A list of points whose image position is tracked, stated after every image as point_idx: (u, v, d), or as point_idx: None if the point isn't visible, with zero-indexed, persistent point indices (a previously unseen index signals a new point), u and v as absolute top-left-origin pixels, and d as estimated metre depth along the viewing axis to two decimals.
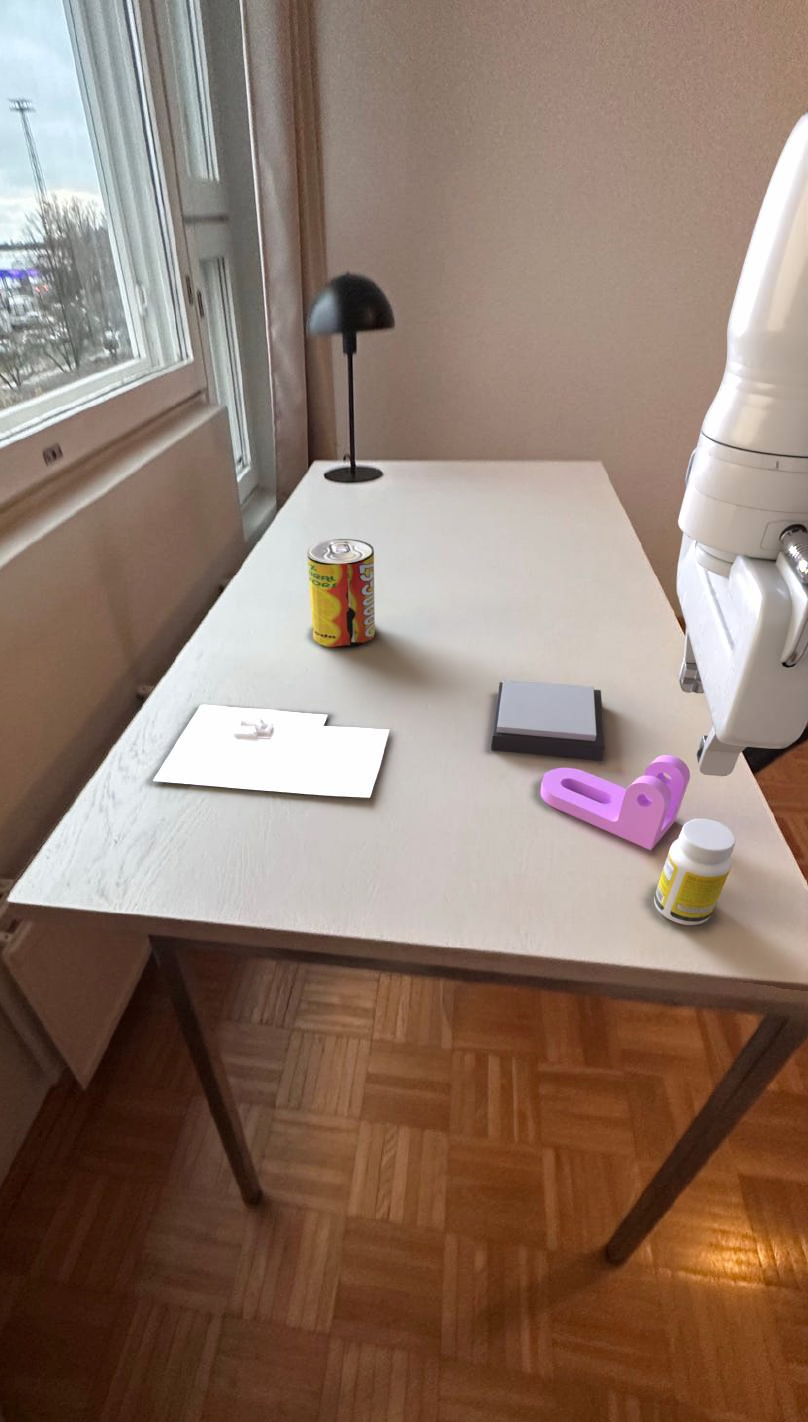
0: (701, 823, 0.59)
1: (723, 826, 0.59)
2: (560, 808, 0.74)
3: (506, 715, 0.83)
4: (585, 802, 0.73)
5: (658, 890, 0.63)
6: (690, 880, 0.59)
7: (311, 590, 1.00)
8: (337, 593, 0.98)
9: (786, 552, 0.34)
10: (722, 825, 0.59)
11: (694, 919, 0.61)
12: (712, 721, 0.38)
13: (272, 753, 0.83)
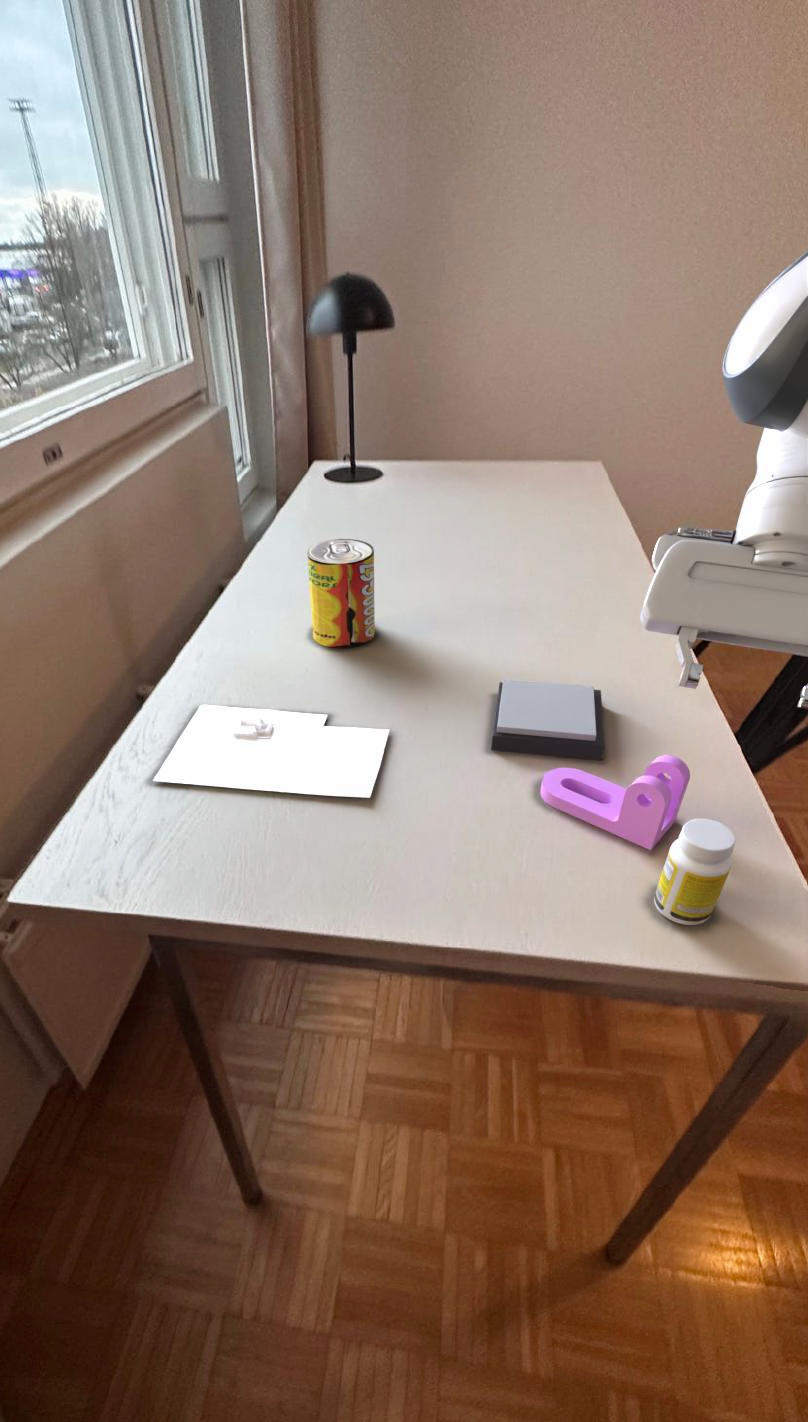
0: (701, 822, 0.59)
1: (723, 826, 0.59)
2: (560, 808, 0.74)
3: (506, 715, 0.83)
4: (585, 802, 0.73)
5: (658, 890, 0.63)
6: (690, 880, 0.59)
7: (311, 590, 1.00)
8: (337, 593, 0.98)
9: None
10: (722, 825, 0.59)
11: (694, 919, 0.61)
12: None
13: (272, 753, 0.83)
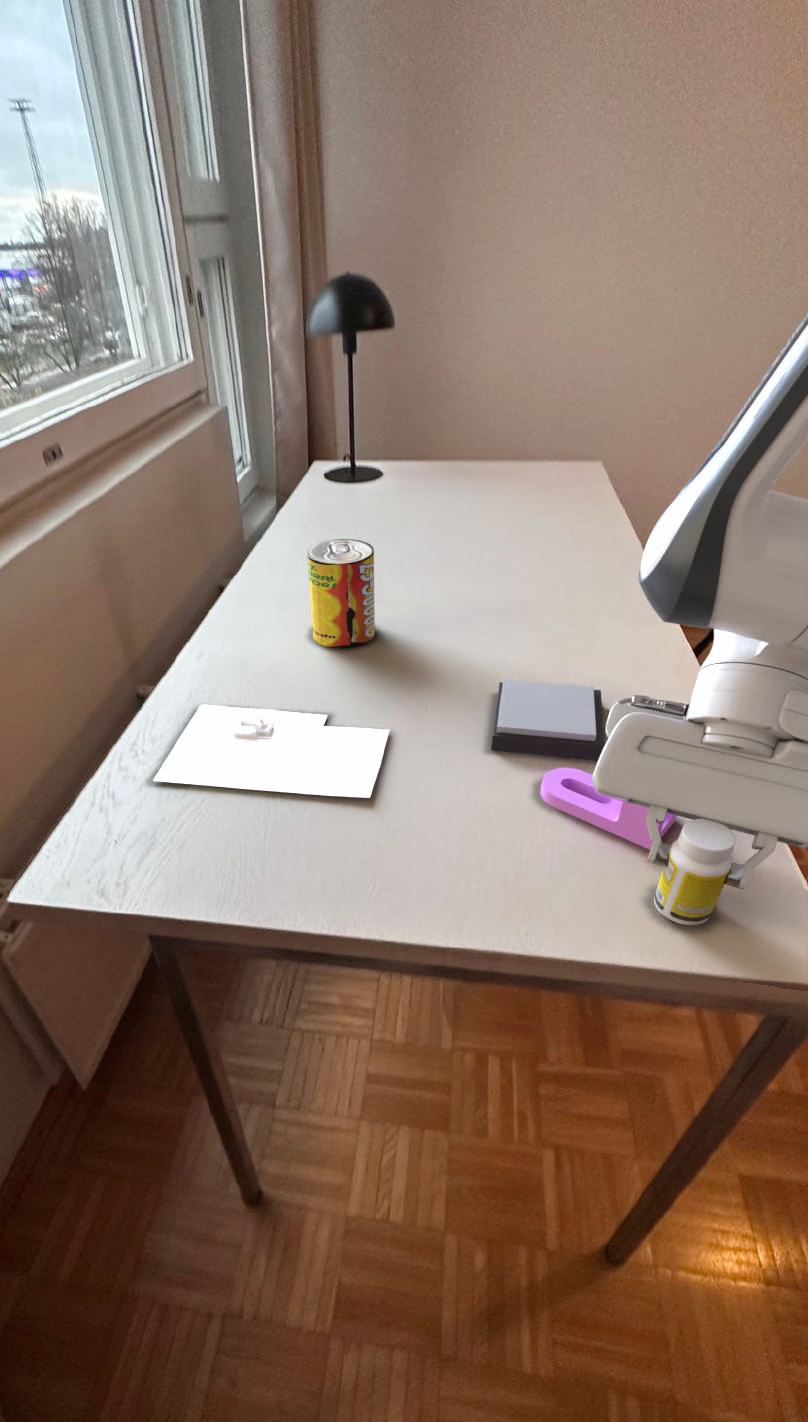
0: (701, 823, 0.59)
1: (723, 826, 0.59)
2: (560, 808, 0.74)
3: (506, 715, 0.83)
4: (585, 802, 0.73)
5: (658, 890, 0.63)
6: (690, 880, 0.59)
7: (311, 590, 1.00)
8: (337, 593, 0.98)
9: None
10: (722, 825, 0.59)
11: (694, 919, 0.61)
12: None
13: (272, 753, 0.83)
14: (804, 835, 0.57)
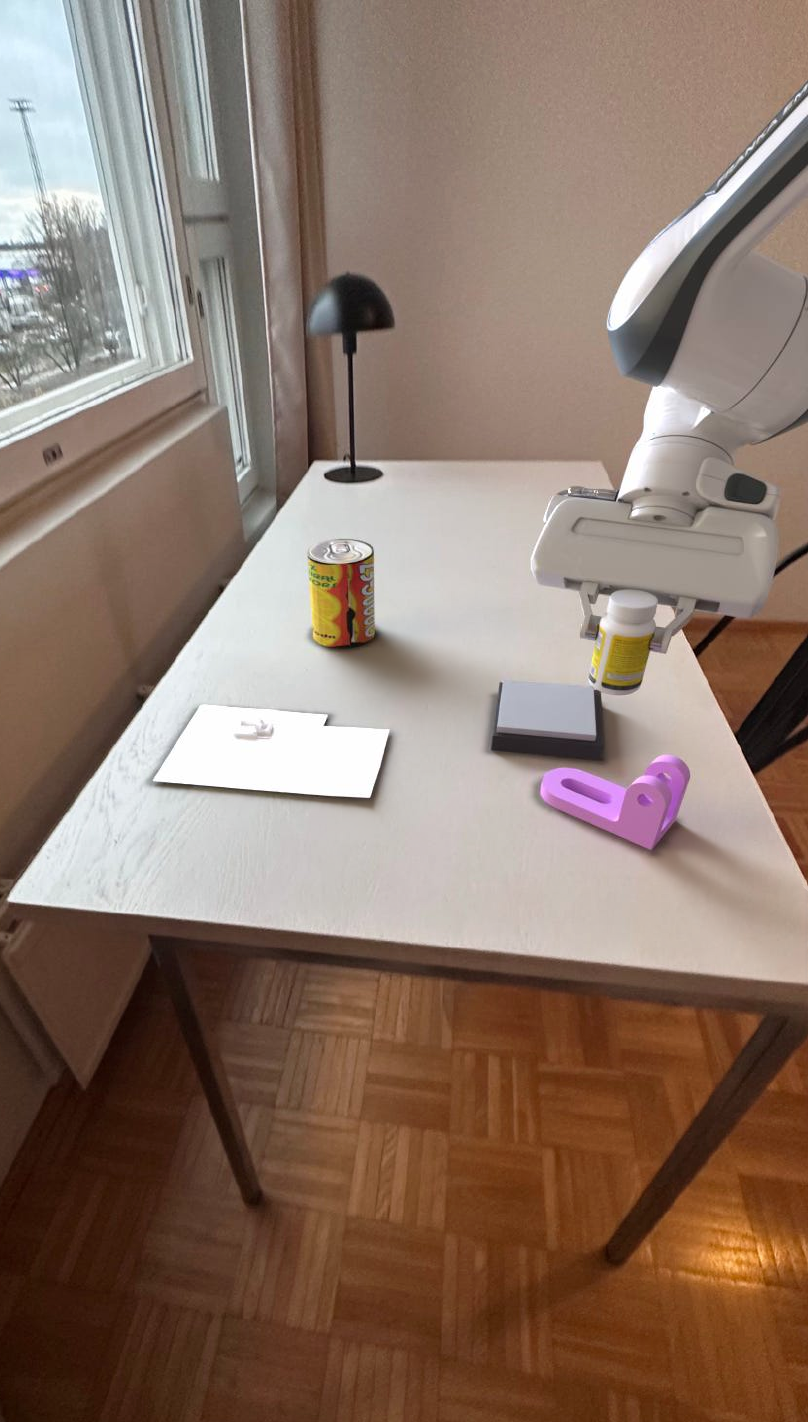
0: (627, 591, 0.64)
1: (647, 593, 0.64)
2: (560, 808, 0.74)
3: (506, 715, 0.83)
4: (586, 802, 0.73)
5: (591, 666, 0.68)
6: (616, 643, 0.64)
7: (311, 590, 1.00)
8: (337, 593, 0.98)
9: None
10: (647, 592, 0.64)
11: (623, 687, 0.66)
12: None
13: (272, 753, 0.83)
14: (719, 592, 0.62)
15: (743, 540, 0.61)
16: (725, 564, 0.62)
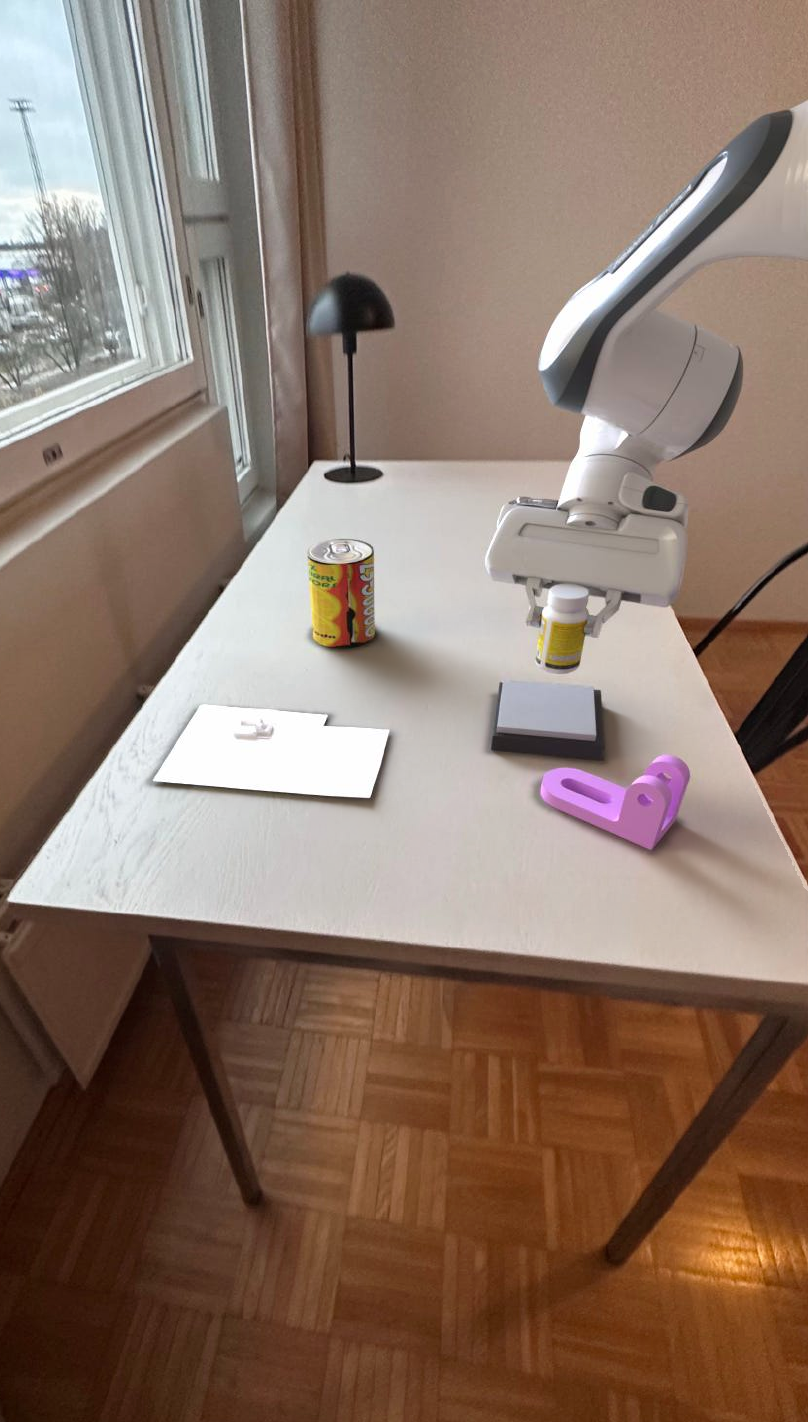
0: (564, 585, 0.76)
1: (581, 586, 0.76)
2: (560, 808, 0.74)
3: (506, 715, 0.83)
4: (586, 802, 0.73)
5: (537, 649, 0.80)
6: (555, 629, 0.76)
7: (311, 590, 1.00)
8: (337, 593, 0.98)
9: None
10: (580, 586, 0.76)
11: (563, 667, 0.78)
12: None
13: (272, 753, 0.83)
14: (639, 585, 0.73)
15: (659, 541, 0.73)
16: (644, 561, 0.73)
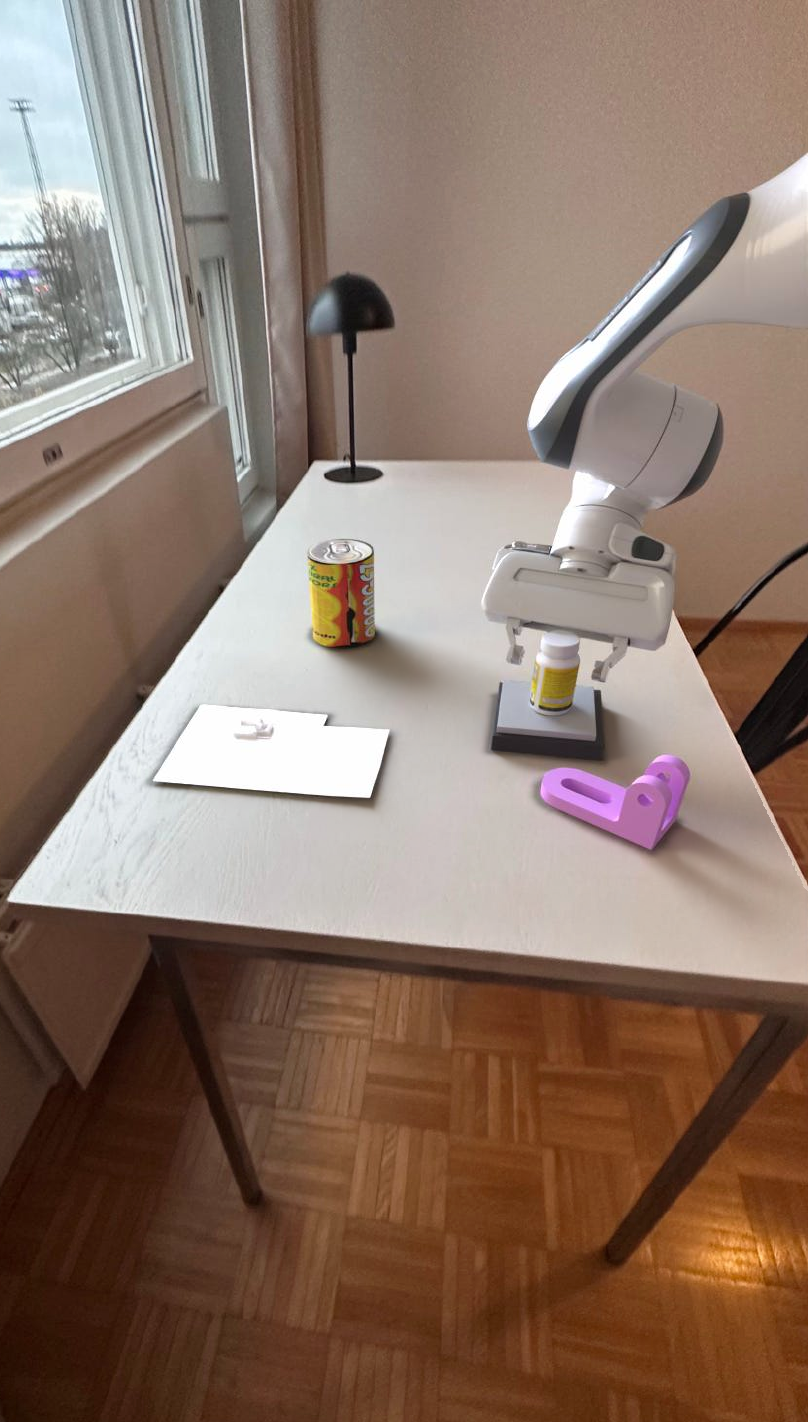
0: (557, 632, 0.80)
1: (572, 633, 0.79)
2: (560, 808, 0.74)
3: (506, 715, 0.83)
4: (586, 802, 0.73)
5: (531, 691, 0.83)
6: (548, 674, 0.79)
7: (311, 590, 1.00)
8: (337, 593, 0.98)
9: None
10: (572, 633, 0.79)
11: (555, 709, 0.82)
12: None
13: (272, 753, 0.83)
14: (628, 630, 0.77)
15: (647, 589, 0.76)
16: (633, 608, 0.77)
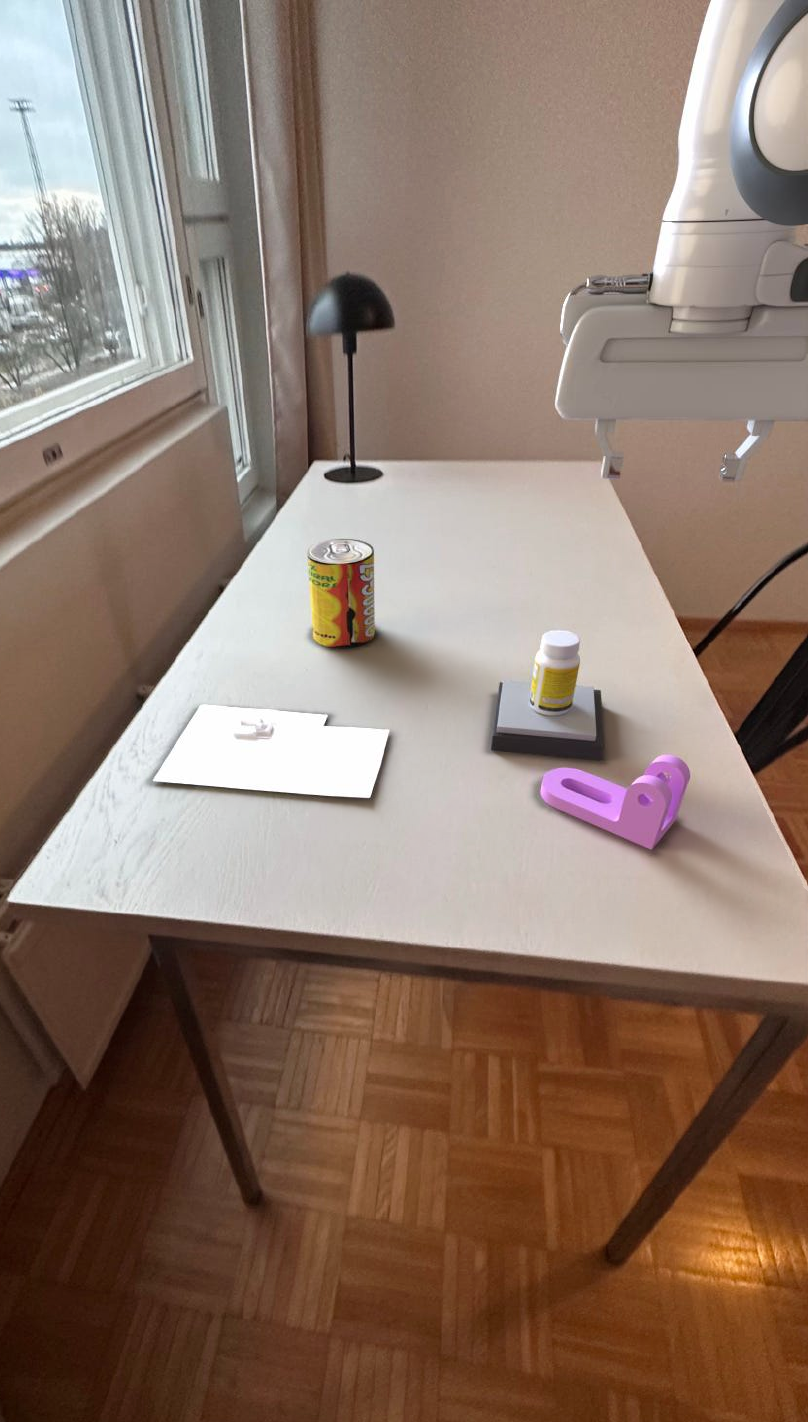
0: (557, 632, 0.80)
1: (572, 633, 0.79)
2: (560, 808, 0.74)
3: (506, 715, 0.83)
4: (586, 802, 0.73)
5: (531, 691, 0.83)
6: (548, 674, 0.79)
7: (311, 590, 1.00)
8: (337, 593, 0.98)
9: None
10: (572, 633, 0.79)
11: (555, 709, 0.82)
12: None
13: (272, 753, 0.83)
14: (777, 413, 0.55)
15: None
16: (786, 376, 0.54)
